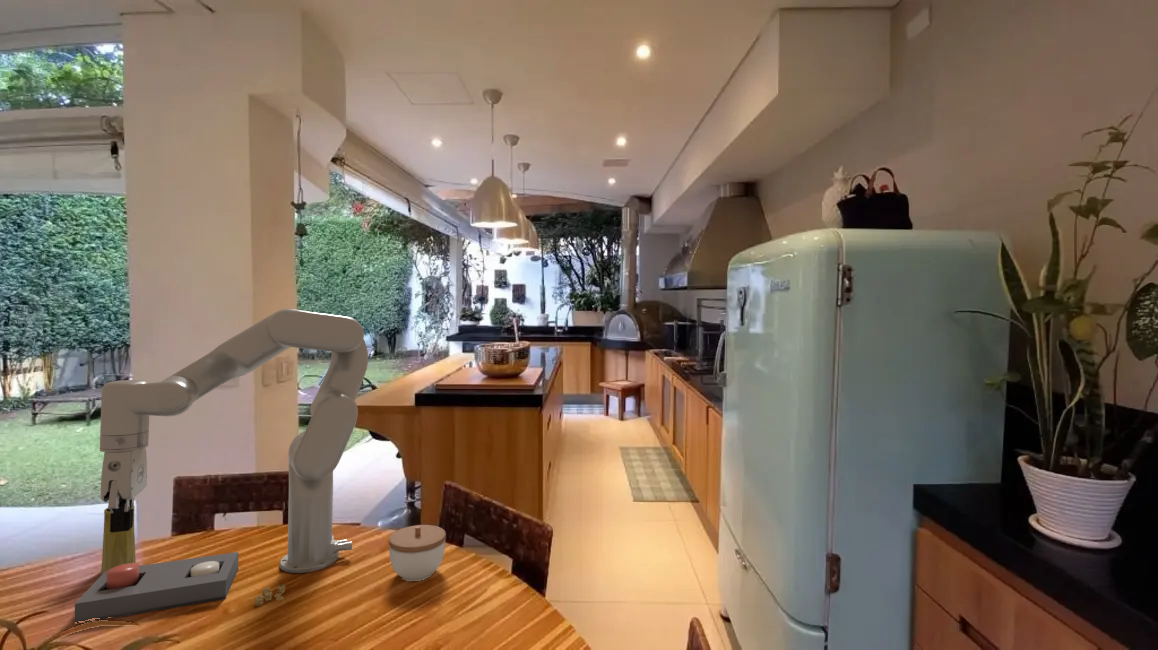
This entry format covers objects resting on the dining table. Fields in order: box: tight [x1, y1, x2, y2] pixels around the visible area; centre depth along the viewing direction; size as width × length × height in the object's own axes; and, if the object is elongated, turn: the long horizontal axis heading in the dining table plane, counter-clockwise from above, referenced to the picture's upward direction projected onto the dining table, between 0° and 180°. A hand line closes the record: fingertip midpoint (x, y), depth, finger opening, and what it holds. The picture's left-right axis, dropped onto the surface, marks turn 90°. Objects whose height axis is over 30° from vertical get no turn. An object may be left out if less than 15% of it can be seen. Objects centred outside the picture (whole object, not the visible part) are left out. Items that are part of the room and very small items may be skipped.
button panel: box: [74, 551, 240, 623], centre depth 109 cm, size 24×14×4 cm, turn 114°
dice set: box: [254, 584, 286, 607], centre depth 108 cm, size 5×5×2 cm
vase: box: [100, 505, 137, 575], centre depth 119 cm, size 6×6×14 cm
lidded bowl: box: [388, 524, 447, 582], centre depth 120 cm, size 13×13×11 cm
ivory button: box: [191, 561, 219, 577], centre depth 112 cm, size 5×5×3 cm
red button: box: [106, 562, 140, 590], centre depth 106 cm, size 5×5×3 cm
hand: (121, 530), depth 106 cm, fingers closed
